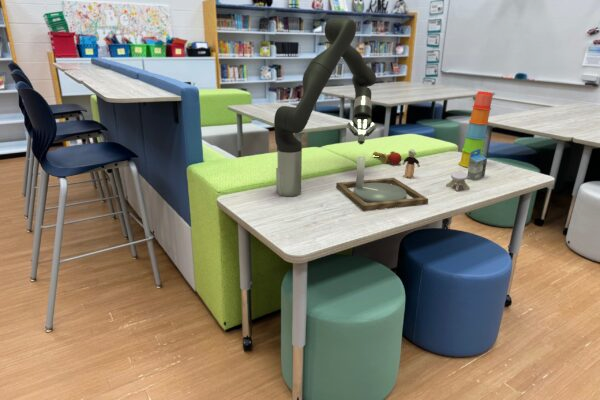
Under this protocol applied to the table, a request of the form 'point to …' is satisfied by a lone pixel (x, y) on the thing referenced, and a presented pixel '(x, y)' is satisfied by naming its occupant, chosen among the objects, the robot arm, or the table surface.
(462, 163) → the stacking cups
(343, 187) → the dial frame
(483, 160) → the label tape box
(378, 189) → the dial
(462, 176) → the tree stump
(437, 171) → the table surface
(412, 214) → the table surface
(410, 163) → the grandmother figurine
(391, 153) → the kendama
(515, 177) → the table surface
